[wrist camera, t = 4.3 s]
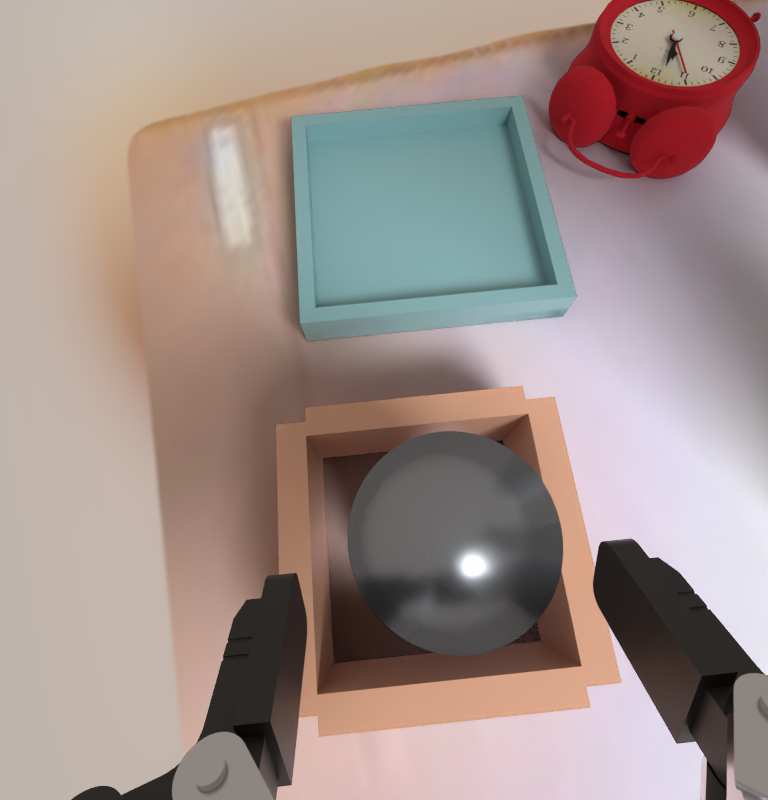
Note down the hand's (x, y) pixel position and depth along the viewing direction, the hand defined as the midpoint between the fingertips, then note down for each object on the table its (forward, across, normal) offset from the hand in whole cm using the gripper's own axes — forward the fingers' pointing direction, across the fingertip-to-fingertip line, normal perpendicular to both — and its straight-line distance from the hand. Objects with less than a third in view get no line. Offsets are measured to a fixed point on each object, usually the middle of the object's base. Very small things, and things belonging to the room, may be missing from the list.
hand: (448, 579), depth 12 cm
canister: (+7, 0, +6) cm, 9 cm away
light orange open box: (+7, 0, +6) cm, 9 cm away
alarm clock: (+25, -17, -12) cm, 33 cm away
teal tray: (+20, -2, -7) cm, 21 cm away
